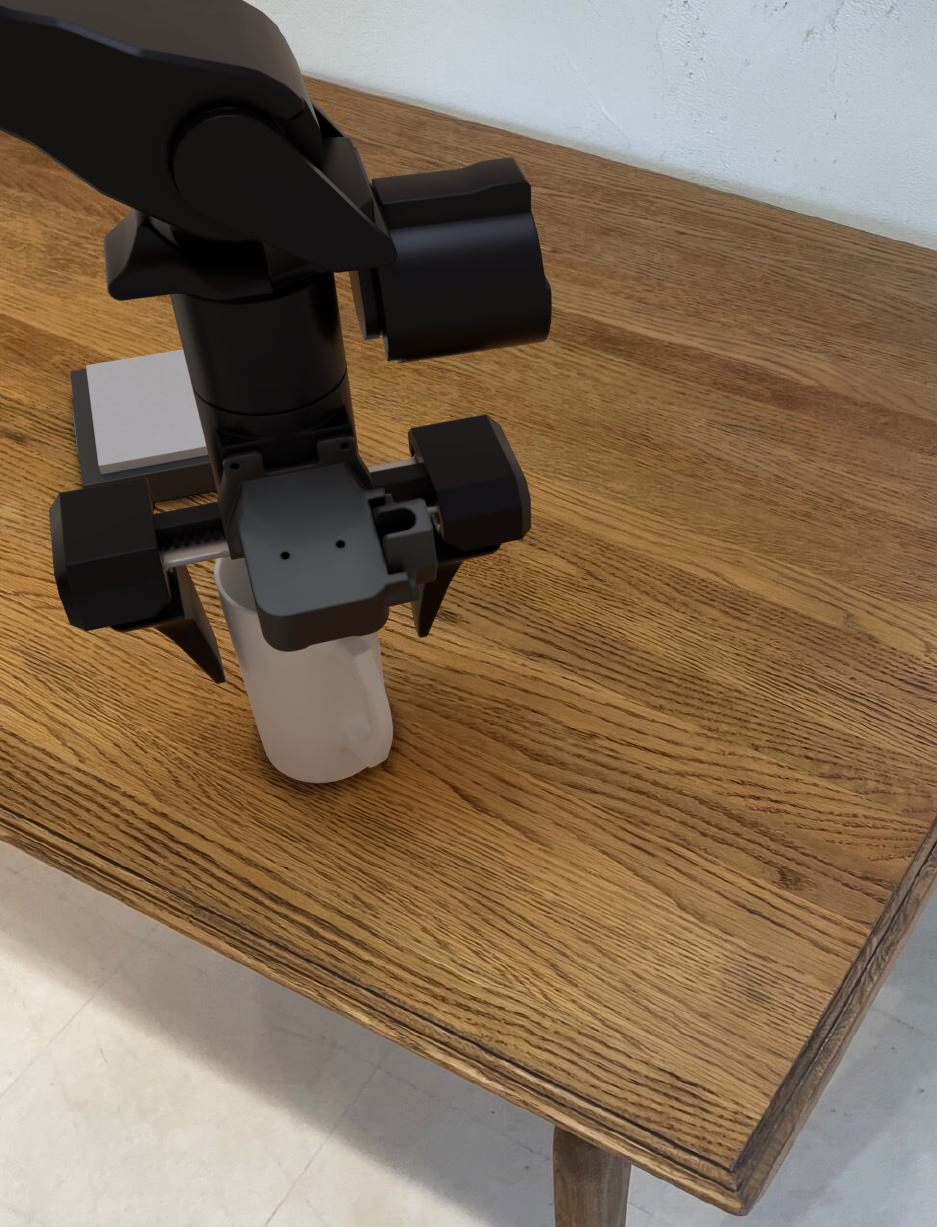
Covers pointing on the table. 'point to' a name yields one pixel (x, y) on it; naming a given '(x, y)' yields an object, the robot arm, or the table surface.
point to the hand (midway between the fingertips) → (322, 653)
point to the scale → (141, 425)
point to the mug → (308, 692)
